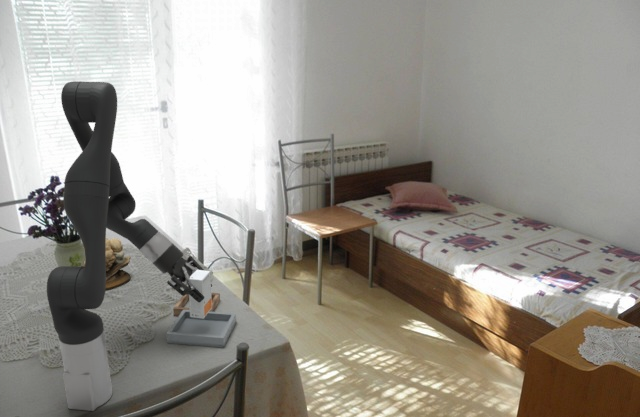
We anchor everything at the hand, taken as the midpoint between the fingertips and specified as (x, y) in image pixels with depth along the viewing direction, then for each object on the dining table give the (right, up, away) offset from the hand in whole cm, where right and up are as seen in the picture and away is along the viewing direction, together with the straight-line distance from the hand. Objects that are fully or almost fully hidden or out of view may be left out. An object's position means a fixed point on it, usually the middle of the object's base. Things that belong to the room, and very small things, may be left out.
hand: (206, 293), depth 145 cm
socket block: (-6, -7, +17) cm, 19 cm away
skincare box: (-2, -6, +2) cm, 7 cm away
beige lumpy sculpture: (-41, -2, +32) cm, 52 cm away
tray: (-2, -12, +4) cm, 12 cm away
